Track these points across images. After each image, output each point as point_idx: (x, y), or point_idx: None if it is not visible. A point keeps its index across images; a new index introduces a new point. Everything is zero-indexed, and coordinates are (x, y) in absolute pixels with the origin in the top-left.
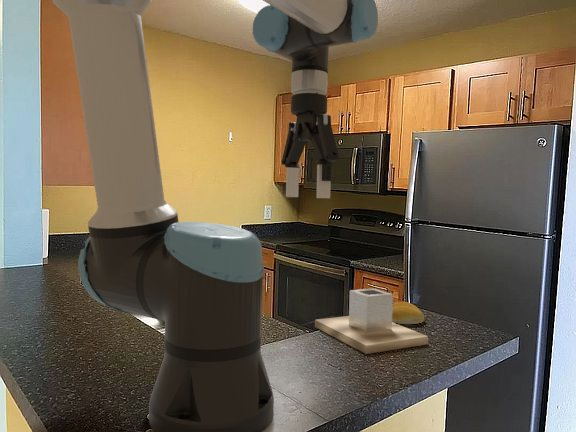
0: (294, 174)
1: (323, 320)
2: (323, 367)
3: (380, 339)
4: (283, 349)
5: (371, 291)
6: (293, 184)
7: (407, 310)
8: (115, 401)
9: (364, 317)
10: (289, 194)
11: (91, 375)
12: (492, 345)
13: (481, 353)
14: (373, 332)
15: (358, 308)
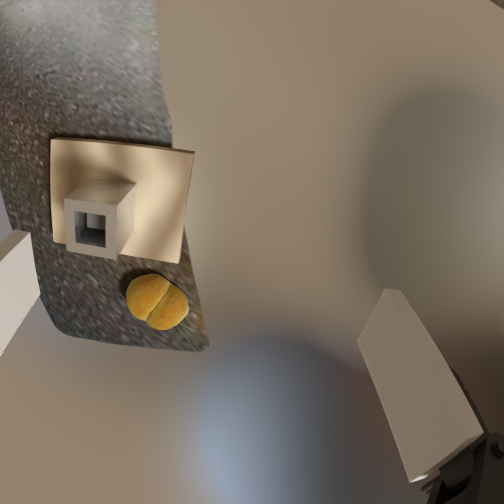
0: (415, 427)
1: (181, 164)
2: (50, 59)
3: (62, 175)
4: (127, 40)
5: (106, 243)
6: (395, 370)
7: (133, 298)
8: None
9: (86, 186)
10: (384, 307)
11: None
12: (40, 292)
13: None
14: None
15: (98, 191)
